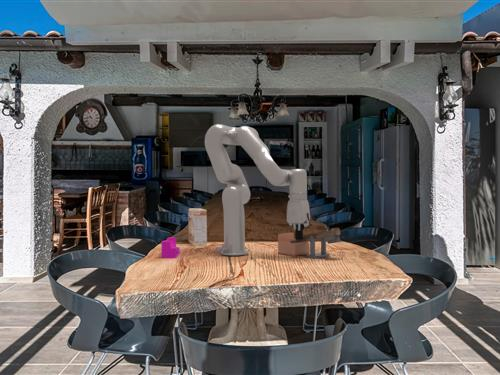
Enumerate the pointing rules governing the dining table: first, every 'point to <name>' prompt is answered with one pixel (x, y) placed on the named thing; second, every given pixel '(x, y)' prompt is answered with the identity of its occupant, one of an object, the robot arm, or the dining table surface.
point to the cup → (291, 245)
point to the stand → (312, 249)
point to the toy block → (170, 248)
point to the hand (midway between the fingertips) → (299, 239)
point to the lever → (322, 236)
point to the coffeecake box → (197, 226)
